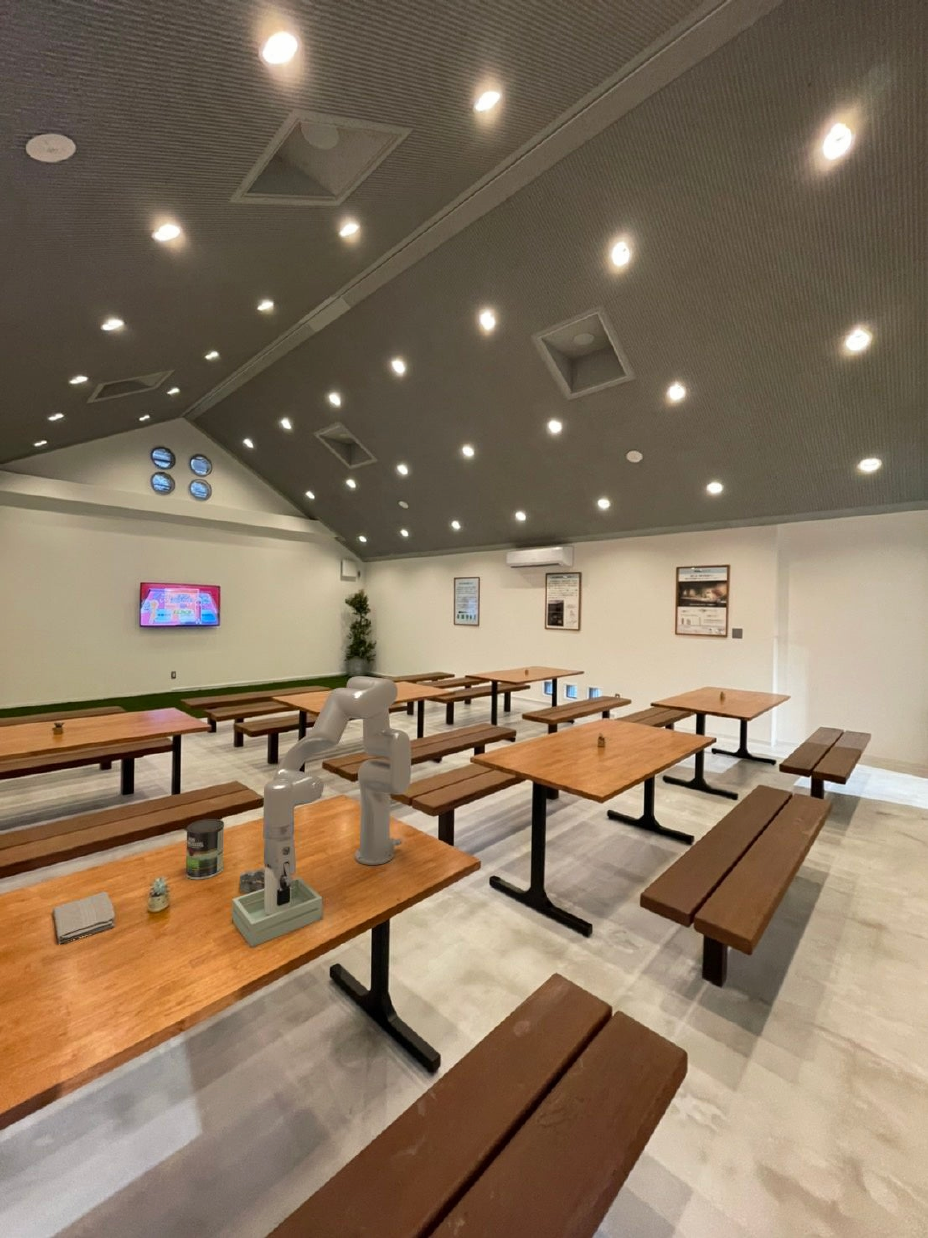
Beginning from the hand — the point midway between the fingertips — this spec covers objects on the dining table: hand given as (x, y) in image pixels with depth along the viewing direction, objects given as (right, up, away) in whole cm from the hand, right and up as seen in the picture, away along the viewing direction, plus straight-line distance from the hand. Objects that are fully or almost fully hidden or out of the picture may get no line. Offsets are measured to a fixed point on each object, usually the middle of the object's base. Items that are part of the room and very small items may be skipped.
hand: (278, 897), depth 136 cm
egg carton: (-11, -6, +17) cm, 21 cm away
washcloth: (-49, -5, -2) cm, 49 cm away
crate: (0, -6, 0) cm, 6 cm away
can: (0, -3, 0) cm, 3 cm away
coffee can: (-31, -5, +24) cm, 39 cm away
